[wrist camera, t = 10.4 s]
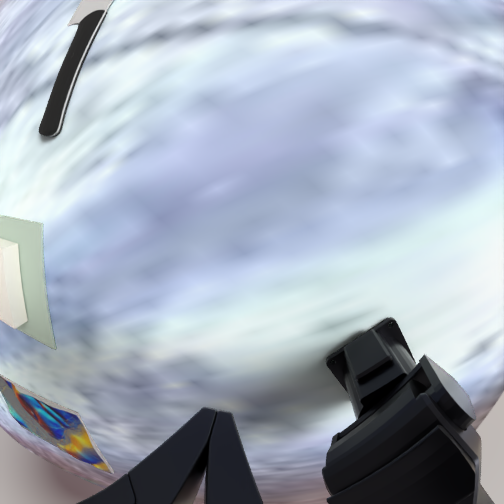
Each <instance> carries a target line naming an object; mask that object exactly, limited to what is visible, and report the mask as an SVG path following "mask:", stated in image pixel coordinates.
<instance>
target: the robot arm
mask: <svg viewBox="0 0 504 504" xmlns="http://www.w3.org/2000/svg"><path fill="white" fill-rule="evenodd" d="M391 322H392V324H391V325H390V326H388V325H389V323H391ZM332 360H334V362H332V363H331V362H330V361H332ZM326 364H327V366H328V368H329V369H330V370H331V372H332V373H333V374H334V375H335V377H336V378H337V379H338V381H339V382H340V383H341V385H342V386H343V387H344V389H345V390H346V391H347V392H348V394H349V397H350V400H351V403H352V406H353V410H354V413H355V416H356V421H355V422H354V423H352V424H351V425H350V426H349V427H347V428H346V429H345V430H343V431H342V432H341V433H337V434H336V435H334V436H333V438H332V443H331V447H330V448H329V450H328V452H327V456H326V466H325V467H324V468H323V469H322V475H323V479H324V482H325V485H326V488H327V490H328V492H329V494H330V495H331V497H329V498H327V502H328V503H329V504H494V502H493V501H492V500H491V498H490V497H489V496H488V494H487V493H486V491H485V490H484V488H483V487H482V485H481V484H480V476H481V438H480V436H479V434H478V433H477V432H476V430H475V429H474V428H473V426H472V425H471V424H472V423H473V422H474V421H475V420H476V416H475V412H474V409H473V406H472V403H471V400H470V397H469V395H468V394H467V393H466V392H465V391H464V389H463V388H462V387H461V386H460V385H459V383H458V382H457V381H456V380H455V379H454V378H453V377H452V376H451V375H450V374H448V373H447V372H446V371H445V370H444V369H442V368H441V367H440V366H439V365H437V364H436V363H435V362H434V361H432V360H431V359H430V358H429V357H427V356H426V355H424V356H423V357H422V358H421V359H420V360H419V363H418V364H417V365H416V362H415V360H414V358H413V356H412V353H411V351H410V349H409V347H408V345H407V343H406V341H405V338H404V336H403V334H402V332H401V330H400V328H399V326H398V324H397V322H396V321H395V320H394V318H392V317H390V318H387V319H386V320H384V321H383V322H382V323H380V324H379V325H377V326H376V327H374V328H373V329H371V330H369V331H367V332H366V333H364V334H363V335H361V336H360V337H358V338H357V339H355V340H354V341H352V342H350V343H349V344H347V345H346V346H345V347H343V348H342V349H340V350H338V351H337V352H335V353H333V354H332V355H330V356H328V357H327V359H326ZM205 472H206V477H205V493H204V504H263V501H262V499H261V496H260V493H259V491H258V488H257V485H256V483H255V480H254V477H253V474H252V472H251V469H250V466H249V463H248V460H247V457H246V454H245V451H244V448H243V445H242V442H241V439H240V436H239V433H238V430H237V427H236V424H235V421H234V417H233V414H232V413H231V412H227V411H222V410H219V411H218V412H217V410H216V409H212V408H208V407H203V408H202V409H201V410H199V411H198V412H197V413H196V414H195V415H194V416H193V417H192V418H191V419H190V420H189V421H188V422H187V423H185V424H184V425H183V426H182V427H181V428H180V429H179V430H178V431H177V432H175V433H174V434H173V435H172V436H171V437H170V438H169V439H167V440H166V441H165V442H164V443H163V444H162V445H160V446H159V447H158V448H157V449H156V450H155V451H153V452H152V453H151V454H150V455H149V456H147V457H146V458H145V459H144V460H143V461H141V462H140V463H139V464H138V465H136V466H135V467H134V468H133V469H131V470H130V471H129V472H128V474H125V475H123V476H122V477H121V478H120V479H118V480H117V481H115V482H114V483H113V484H111V485H110V486H108V487H107V488H105V489H104V490H102V491H100V492H98V493H97V494H95V495H93V496H91V497H89V498H87V499H85V500H83V501H81V502H79V503H77V504H193V502H194V500H195V497H196V495H197V492H198V490H199V488H200V485H201V483H202V480H203V477H204V475H205Z"/></svg>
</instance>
